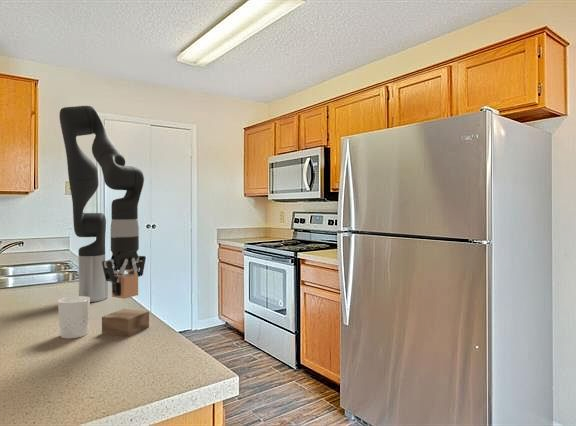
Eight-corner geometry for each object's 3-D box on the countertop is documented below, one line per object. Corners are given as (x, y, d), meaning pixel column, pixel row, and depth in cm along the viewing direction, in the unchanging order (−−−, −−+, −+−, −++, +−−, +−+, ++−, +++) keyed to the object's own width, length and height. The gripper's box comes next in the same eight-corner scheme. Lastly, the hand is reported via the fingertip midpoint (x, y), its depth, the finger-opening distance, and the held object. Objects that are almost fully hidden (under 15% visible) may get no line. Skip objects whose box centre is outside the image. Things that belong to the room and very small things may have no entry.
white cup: (96, 332, 113) (96, 297, 112) (73, 341, 105) (73, 303, 105) (75, 329, 115) (75, 295, 115) (51, 337, 108) (51, 301, 108)
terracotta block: (125, 293, 117) (125, 273, 117) (138, 295, 115) (138, 274, 115) (111, 296, 113) (111, 276, 113) (124, 298, 111) (124, 277, 111)
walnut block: (124, 325, 120) (123, 308, 120) (149, 327, 117) (149, 311, 117) (101, 334, 112) (101, 316, 111) (128, 337, 109) (128, 319, 109)
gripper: (134, 233, 122) (135, 288, 122) (94, 236, 109) (94, 297, 109) (153, 233, 119) (153, 290, 119) (113, 237, 106) (113, 300, 106)
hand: (125, 293), depth 114 cm, fingers closed on terracotta block, 5 cm apart
